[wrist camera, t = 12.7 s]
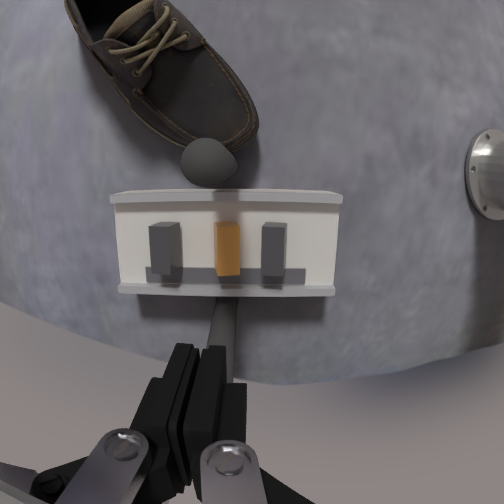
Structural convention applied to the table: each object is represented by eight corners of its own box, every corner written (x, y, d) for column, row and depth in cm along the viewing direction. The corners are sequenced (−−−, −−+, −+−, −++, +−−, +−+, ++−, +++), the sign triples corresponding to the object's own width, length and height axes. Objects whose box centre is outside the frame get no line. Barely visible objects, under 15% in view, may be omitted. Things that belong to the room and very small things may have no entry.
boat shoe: (207, 184, 33) (189, 191, 22) (58, 38, 27) (11, 12, 17) (281, 114, 31) (297, 90, 21) (118, -20, 25) (86, -61, 15)
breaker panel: (329, 191, 33) (342, 195, 28) (323, 279, 35) (334, 296, 31) (128, 190, 32) (110, 195, 28) (133, 276, 35) (118, 292, 30)
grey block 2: (287, 222, 29) (284, 227, 27) (285, 268, 30) (283, 276, 28) (265, 221, 29) (261, 226, 27) (264, 266, 31) (260, 274, 28)
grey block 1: (179, 222, 29) (168, 227, 26) (181, 267, 30) (170, 275, 28) (160, 221, 29) (148, 226, 27) (163, 265, 30) (151, 273, 28)
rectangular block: (235, 221, 29) (240, 226, 27) (235, 266, 30) (239, 274, 28) (213, 222, 29) (217, 226, 27) (214, 267, 30) (217, 276, 28)
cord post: (237, 289, 36) (231, 395, 18) (237, 308, 36) (232, 420, 19) (216, 289, 36) (193, 393, 18) (216, 308, 36) (196, 418, 19)
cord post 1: (238, 154, 32) (230, 137, 14) (238, 177, 32) (229, 186, 15) (215, 154, 32) (180, 138, 14) (215, 176, 32) (180, 186, 15)
